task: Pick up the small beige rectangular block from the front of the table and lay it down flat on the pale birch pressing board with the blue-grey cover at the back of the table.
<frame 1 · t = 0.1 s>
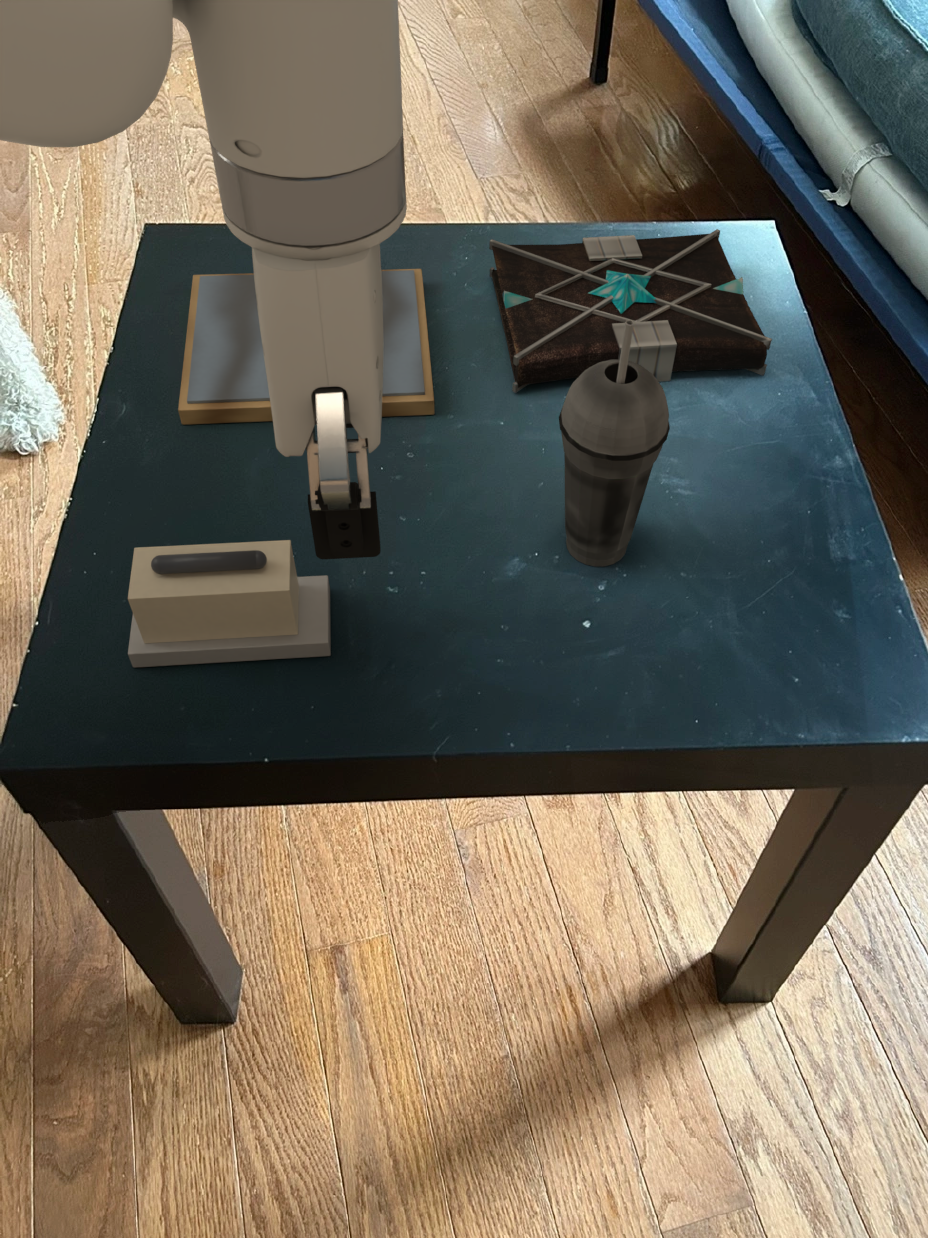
hand: (347, 486, 58), 18 cm above the table, tool pointing down, fingers open, 9 cm apart
board: (309, 349, 93), on the table
beverage cup: (596, 545, 81), on the table
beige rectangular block: (234, 627, 75), on the table
book: (619, 326, 97), on the table
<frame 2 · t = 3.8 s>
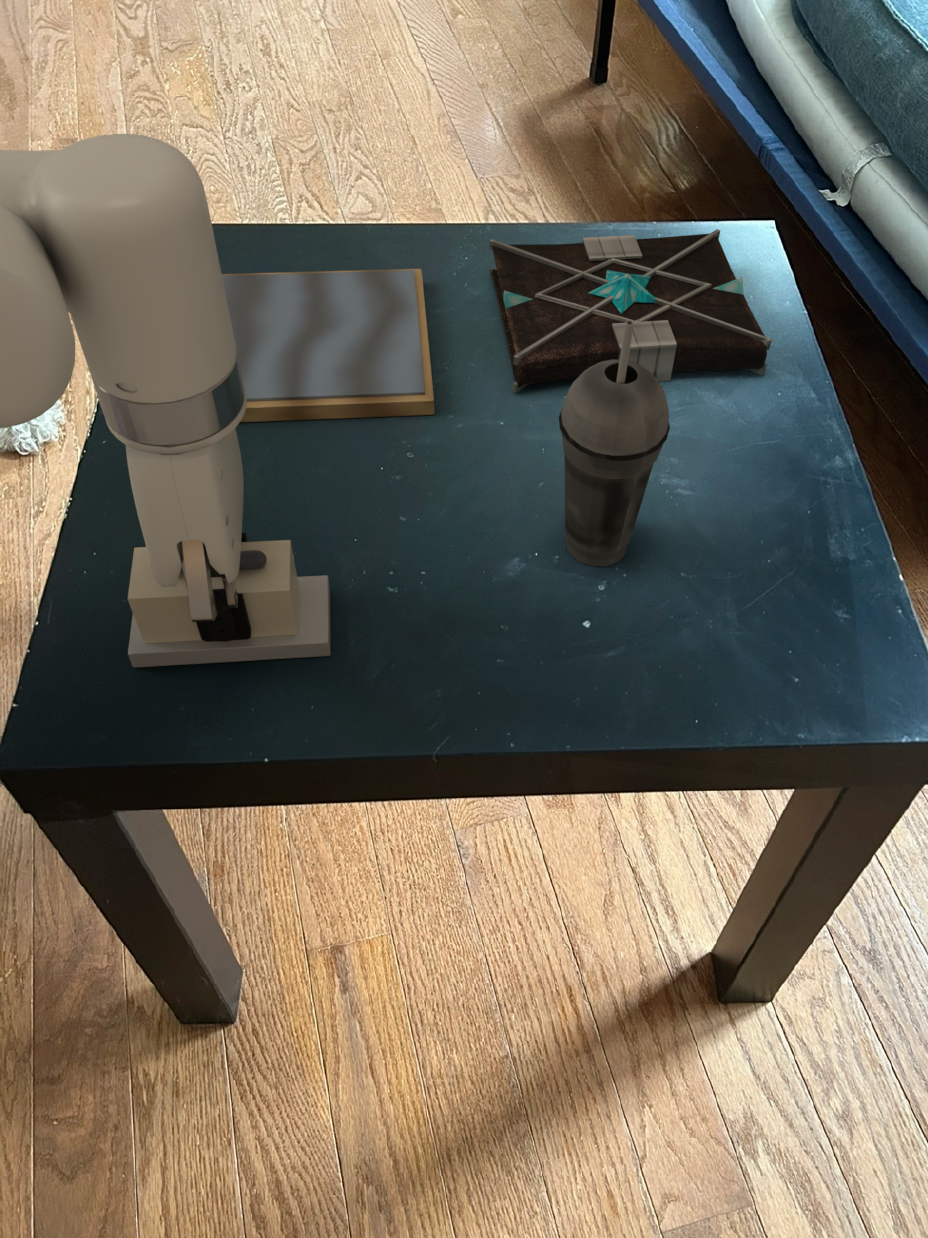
hand: (228, 605, 73), 2 cm above the table, tool pointing down, fingers closed on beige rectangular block, 4 cm apart
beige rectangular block: (234, 627, 75), on the table, touching gripper
everything else where it was.
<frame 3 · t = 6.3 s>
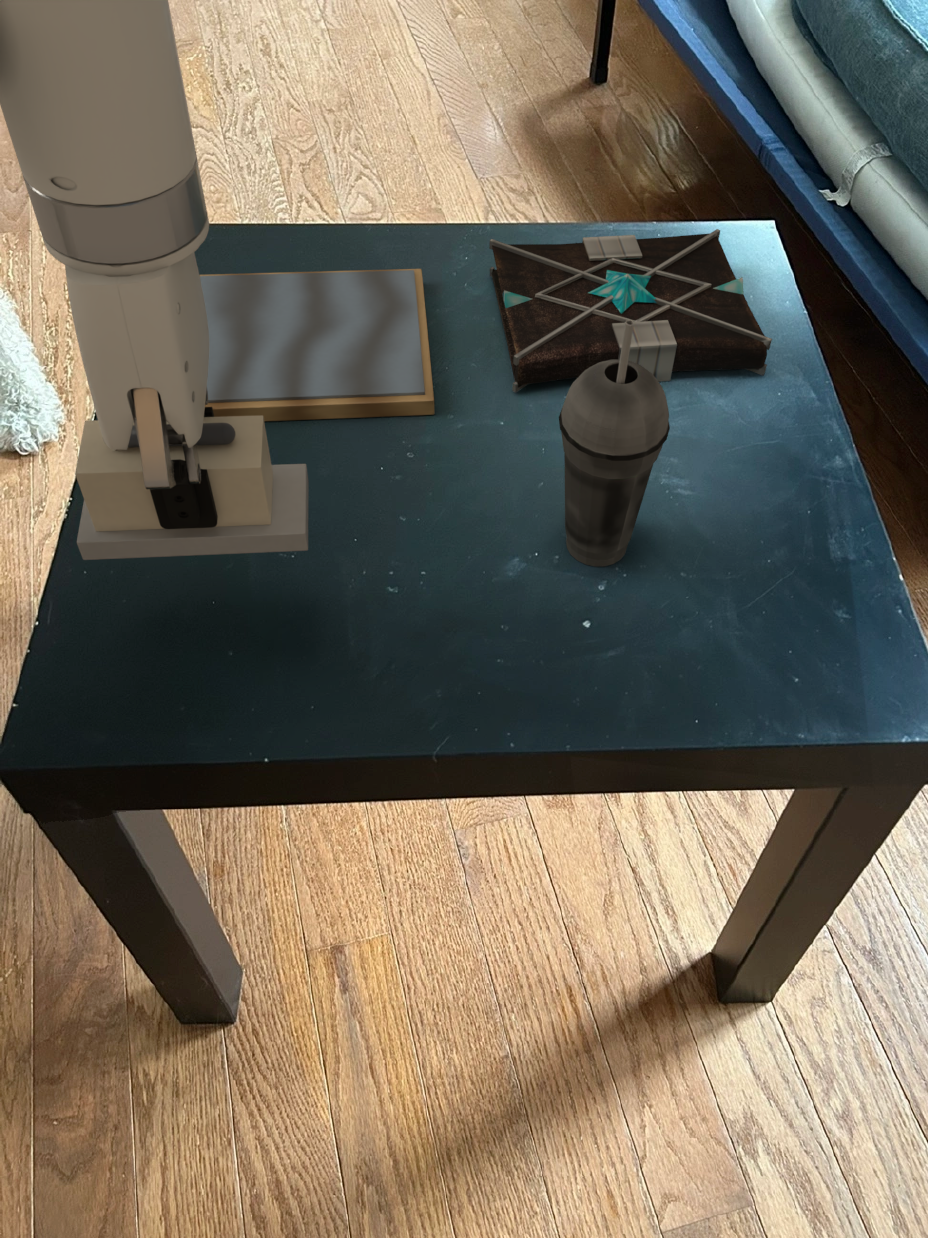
hand: (192, 490, 65), 13 cm above the table, tool pointing down, fingers closed on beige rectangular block, 4 cm apart
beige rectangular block: (199, 519, 67), point 11 cm above the table, touching gripper
everything else where it was.
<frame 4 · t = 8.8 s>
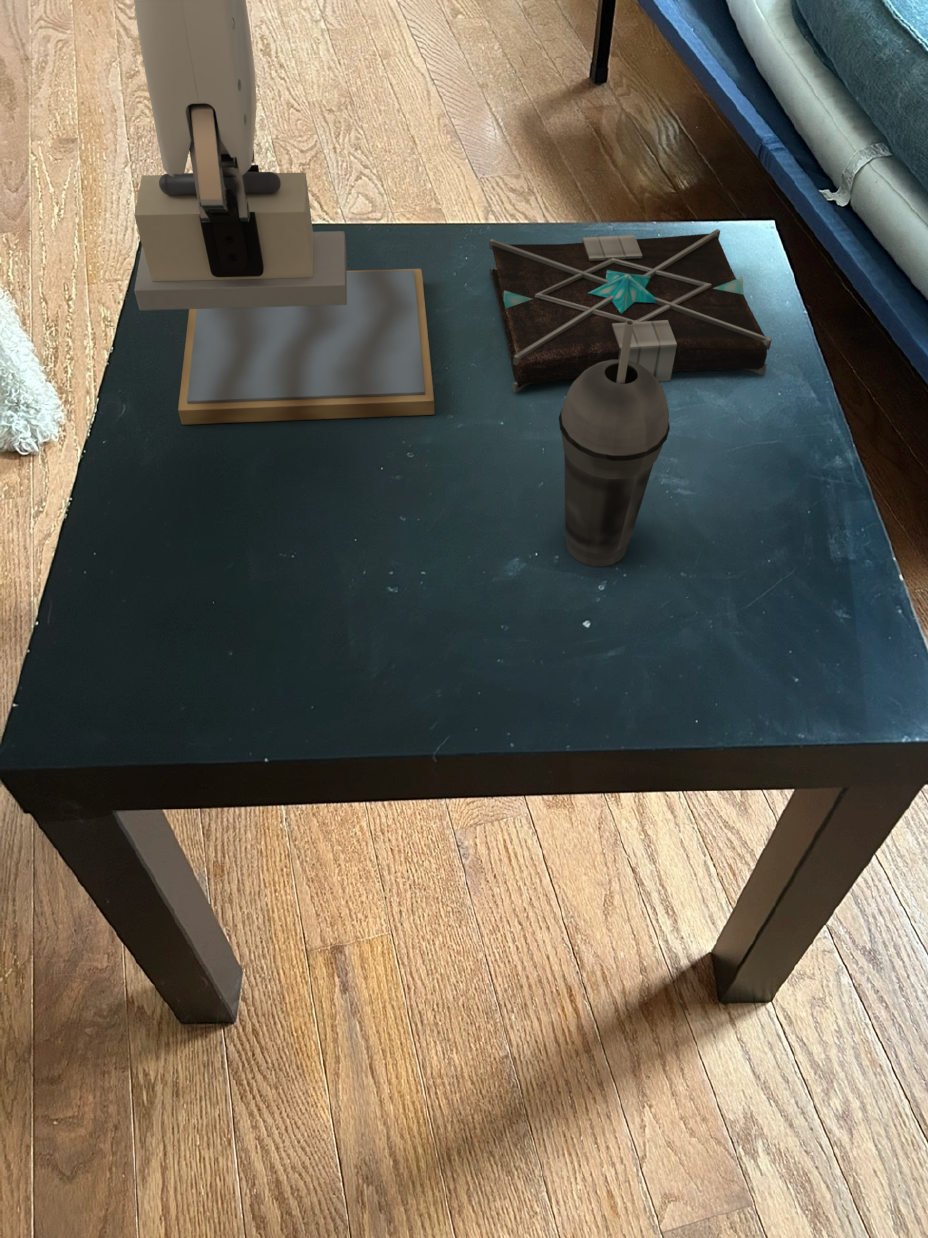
hand: (239, 247, 70), 18 cm above the table, tool pointing down, fingers closed on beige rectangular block, 4 cm apart
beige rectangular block: (246, 280, 72), point 16 cm above the table, touching gripper
everything else where it was.
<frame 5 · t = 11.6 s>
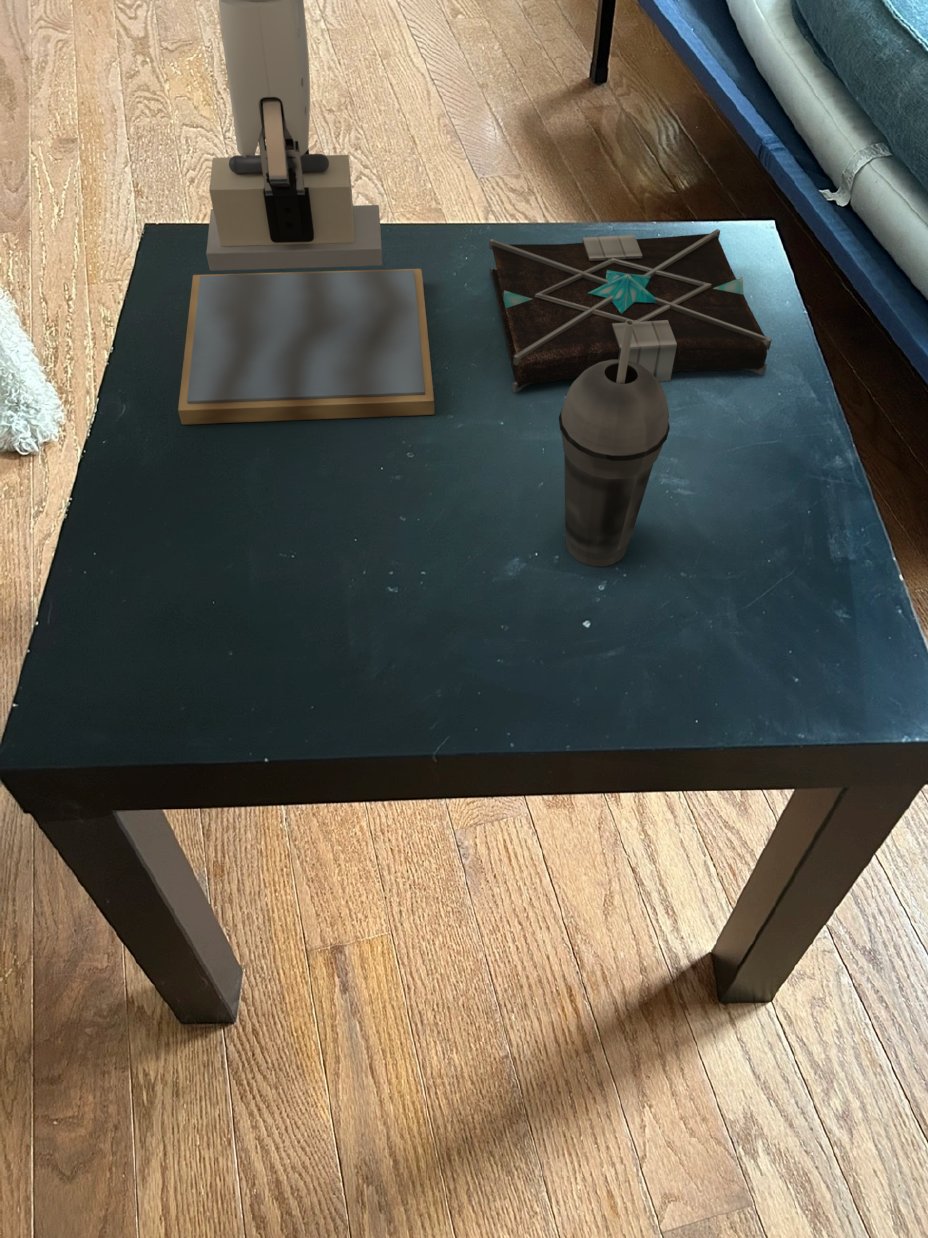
hand: (292, 218, 84), 12 cm above the table, tool pointing down, fingers closed on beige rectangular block, 4 cm apart
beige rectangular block: (297, 246, 86), point 10 cm above the table, touching gripper
everything else where it was.
when the fingers open (4 cm above the table, at t = 13.7 s): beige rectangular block stays where it is, resting on board.
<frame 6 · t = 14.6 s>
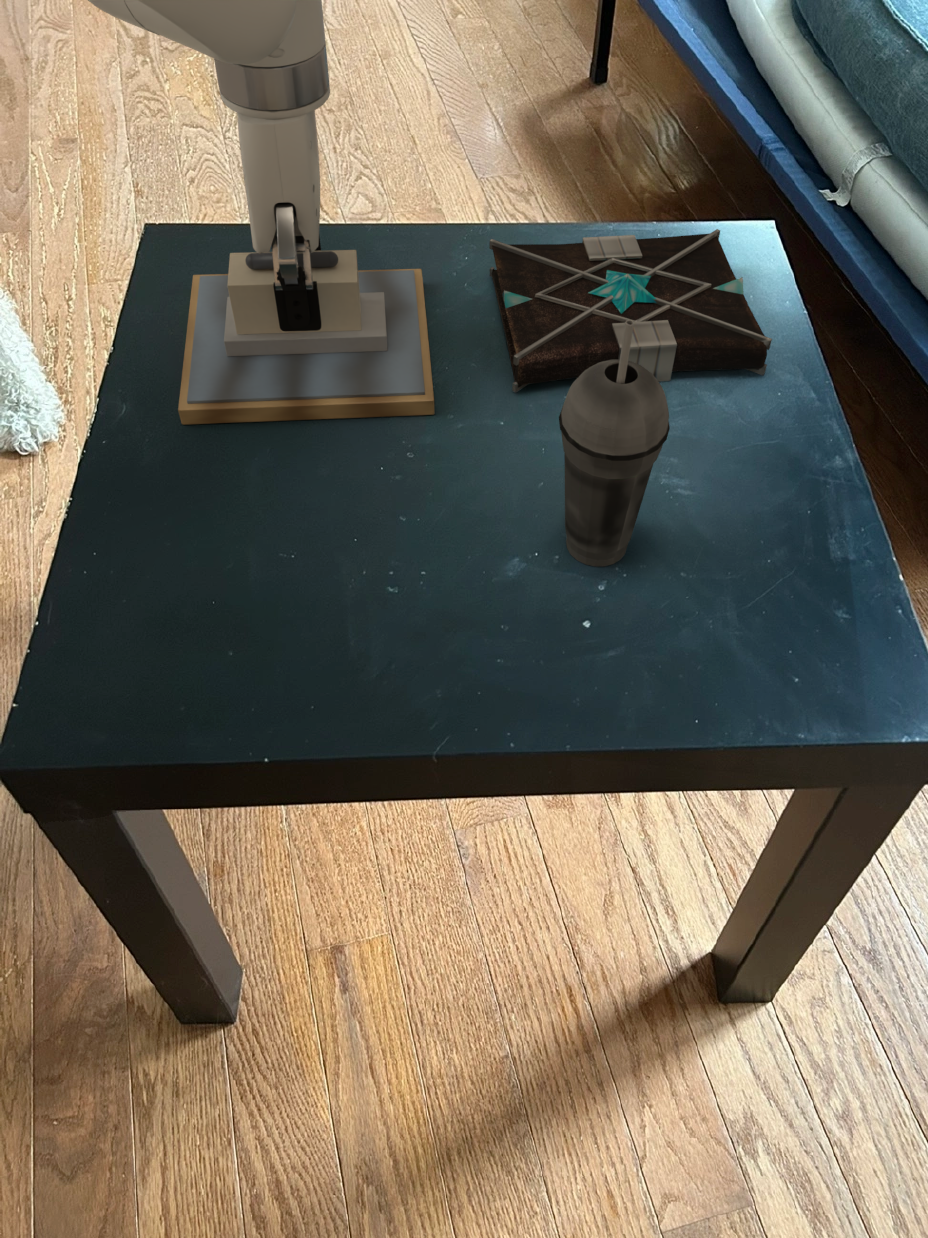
hand: (301, 291, 89), 6 cm above the table, tool pointing down, fingers open, 9 cm apart
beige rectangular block: (307, 331, 92), point 2 cm above the table, touching board
everything else where it was.
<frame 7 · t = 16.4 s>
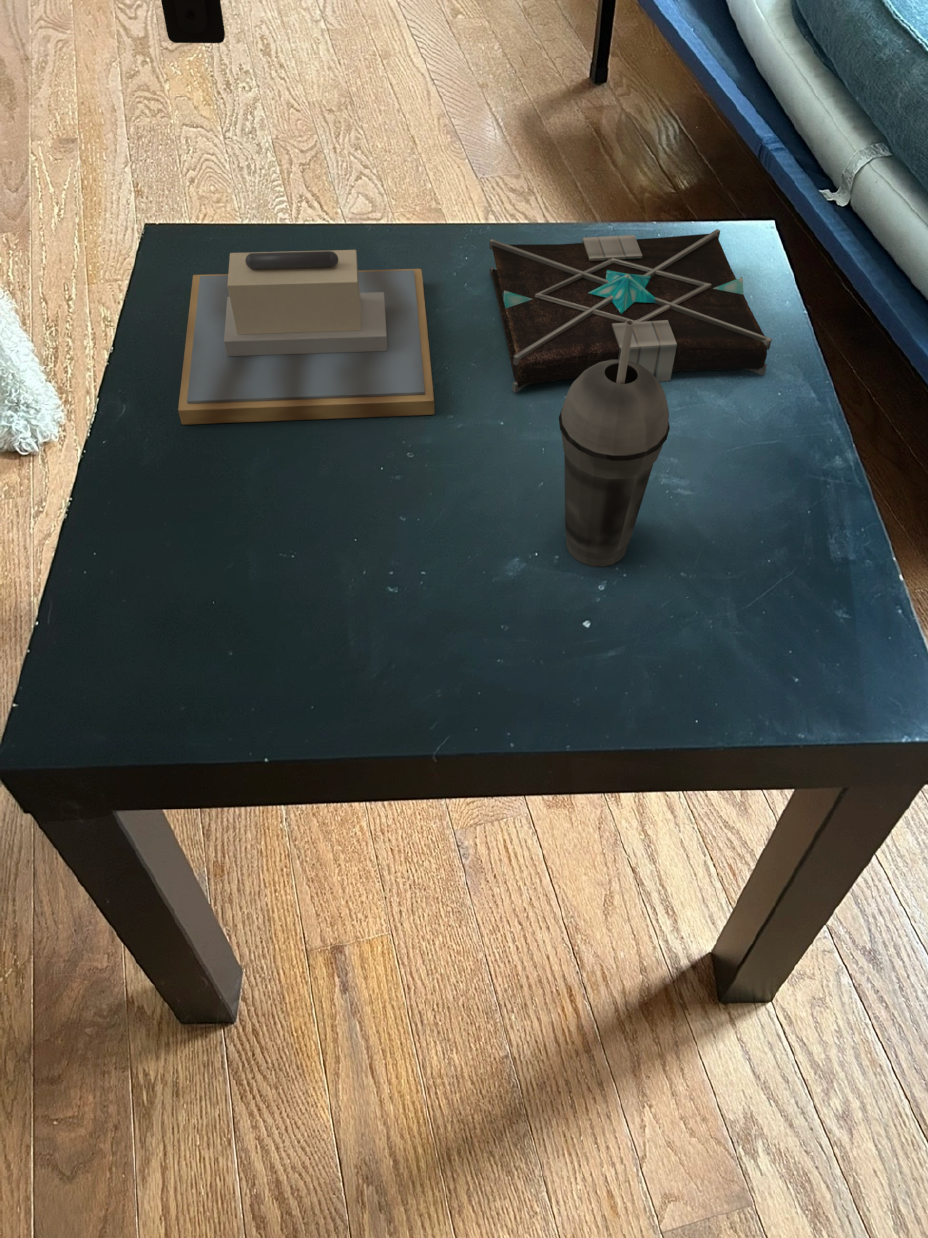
hand: (202, 5, 67), 29 cm above the table, tool pointing down, fingers open, 9 cm apart
nothing on the table moved.
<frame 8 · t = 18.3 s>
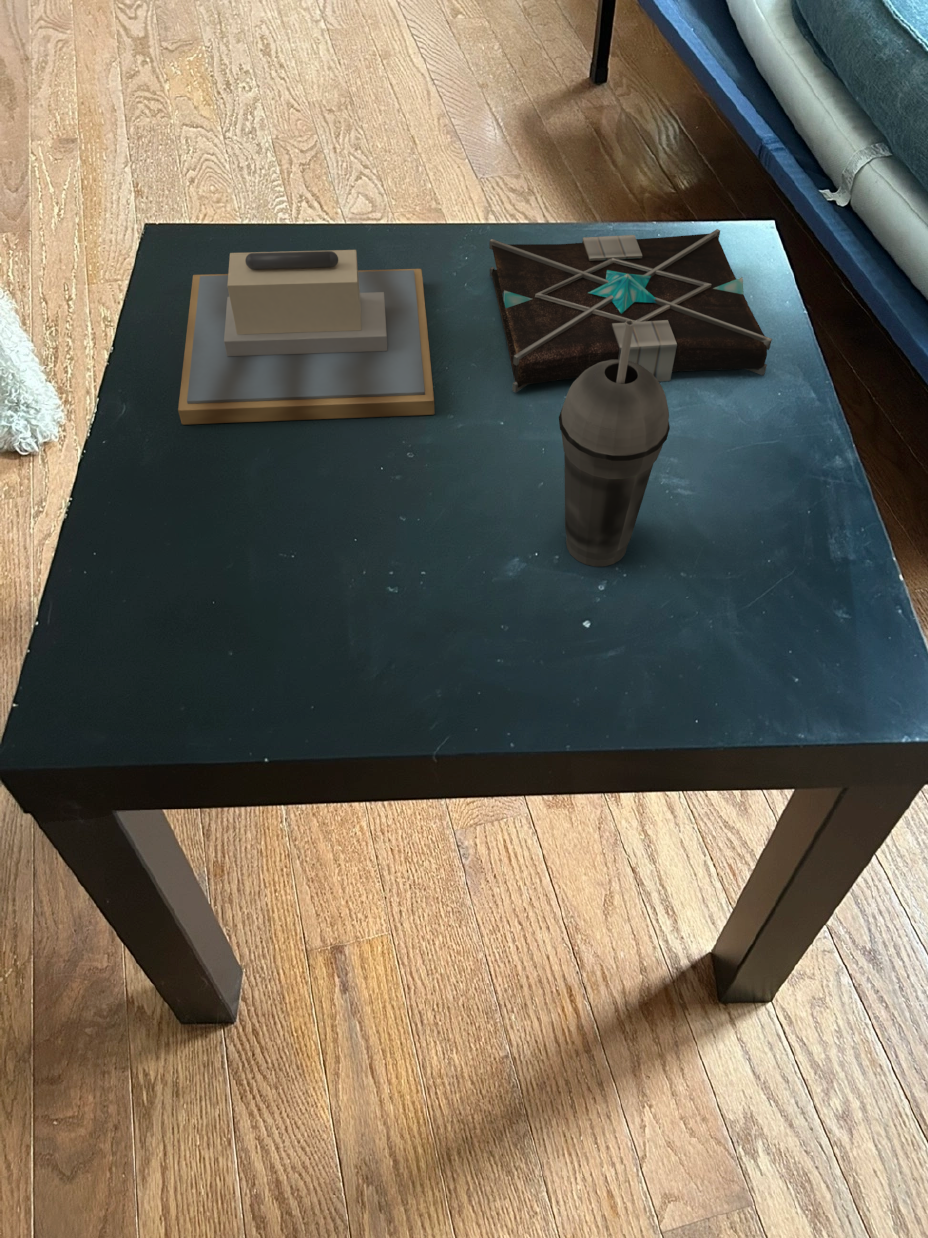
nothing on the table moved.
at the end: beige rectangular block inside the target area on the board (0.0 cm from its centre), point 1.8 cm above the board's base; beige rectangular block tilted 0°; the gripper is holding nothing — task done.
